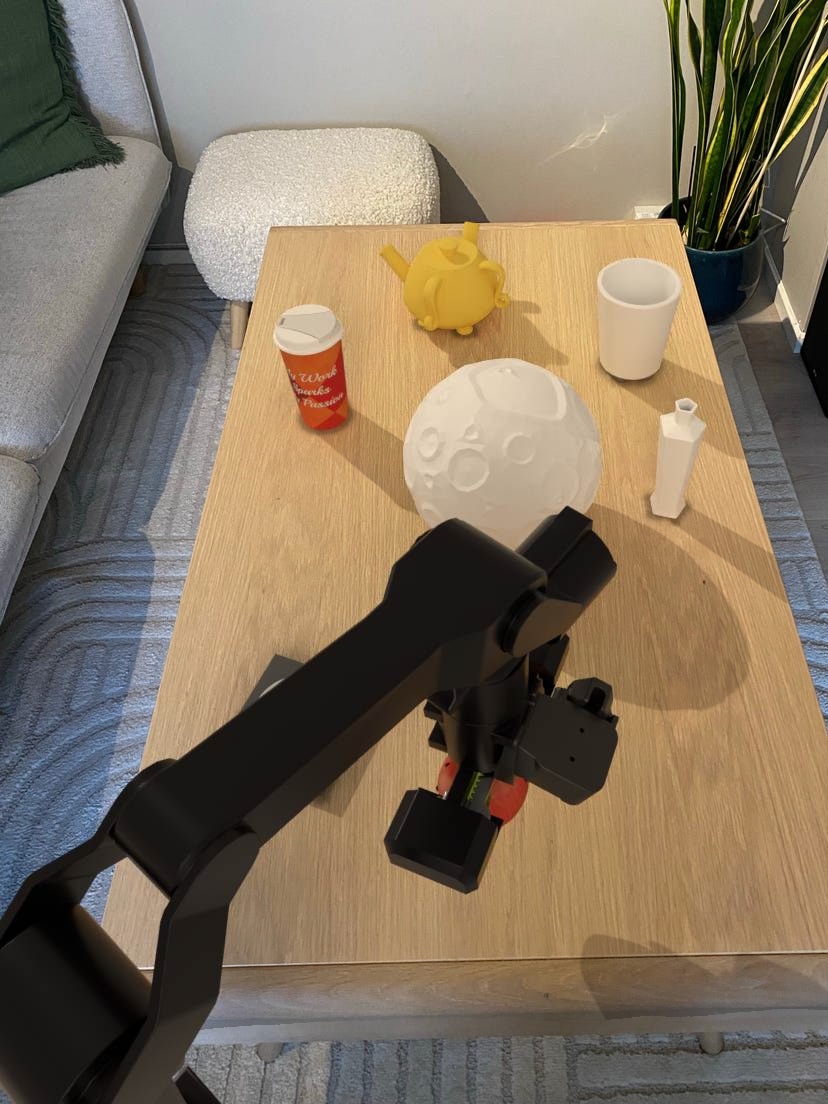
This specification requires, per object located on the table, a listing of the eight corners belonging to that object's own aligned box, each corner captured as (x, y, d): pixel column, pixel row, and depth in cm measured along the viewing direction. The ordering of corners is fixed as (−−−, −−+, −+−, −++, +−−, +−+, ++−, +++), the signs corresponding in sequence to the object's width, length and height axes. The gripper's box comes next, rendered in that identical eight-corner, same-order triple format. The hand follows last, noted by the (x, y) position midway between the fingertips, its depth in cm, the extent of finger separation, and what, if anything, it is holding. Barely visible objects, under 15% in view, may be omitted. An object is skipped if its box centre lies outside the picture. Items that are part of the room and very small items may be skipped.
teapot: (477, 269, 130) (474, 199, 122) (521, 323, 121) (521, 252, 113) (383, 298, 126) (373, 228, 118) (421, 356, 117) (414, 285, 109)
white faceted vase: (657, 526, 98) (676, 427, 87) (639, 497, 100) (655, 397, 89) (696, 515, 98) (719, 415, 87) (677, 486, 101) (697, 386, 90)
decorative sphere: (630, 556, 95) (650, 424, 81) (451, 623, 90) (439, 494, 76) (548, 434, 107) (554, 300, 93) (387, 486, 103) (366, 353, 88)
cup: (586, 341, 118) (592, 258, 109) (661, 337, 119) (674, 254, 109) (595, 393, 112) (603, 310, 102) (675, 389, 112) (690, 306, 102)
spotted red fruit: (425, 781, 70) (415, 720, 63) (506, 746, 72) (505, 683, 65) (465, 875, 66) (458, 822, 58) (550, 836, 67) (554, 779, 60)
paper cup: (285, 433, 109) (261, 342, 98) (304, 389, 114) (283, 298, 103) (349, 439, 108) (331, 348, 97) (365, 395, 113) (350, 304, 102)
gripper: (558, 883, 47) (549, 965, 59) (650, 601, 59) (628, 715, 71) (366, 806, 50) (393, 898, 62) (490, 552, 62) (493, 669, 74)
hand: (486, 789), depth 67 cm, fingers closed on spotted red fruit, 7 cm apart
